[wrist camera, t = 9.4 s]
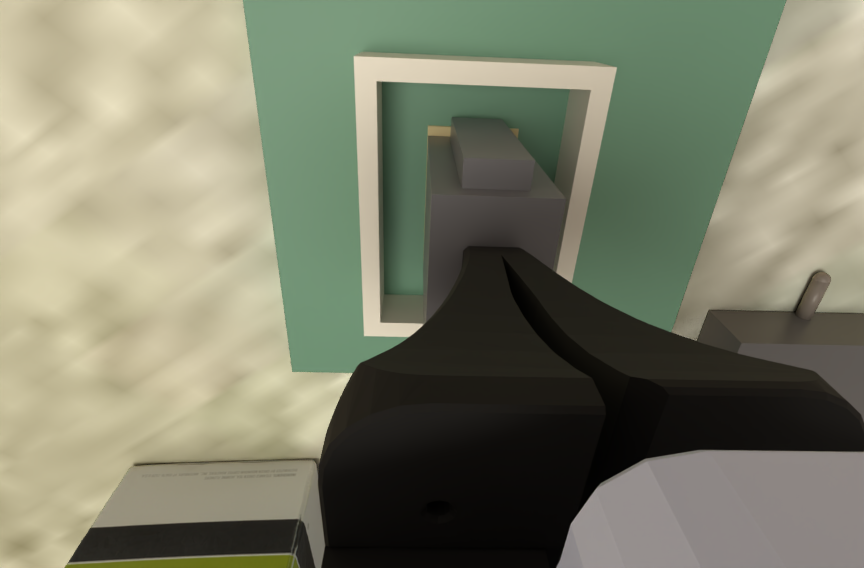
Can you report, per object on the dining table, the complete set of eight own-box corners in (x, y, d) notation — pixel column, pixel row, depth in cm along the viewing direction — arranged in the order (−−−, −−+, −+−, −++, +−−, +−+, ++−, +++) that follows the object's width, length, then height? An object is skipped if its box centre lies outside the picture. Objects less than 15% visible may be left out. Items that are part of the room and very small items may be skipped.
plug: (501, 271, 18) (533, 374, 13) (423, 269, 18) (423, 371, 13) (521, 117, 15) (572, 167, 10) (428, 113, 15) (432, 162, 10)
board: (645, 363, 22) (676, 410, 19) (297, 357, 21) (280, 404, 19) (784, -59, 14) (867, -76, 12) (242, -88, 14) (200, -113, 11)
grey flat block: (808, 443, 25) (847, 484, 23) (659, 441, 24) (682, 483, 22) (911, 272, 20) (973, 304, 18) (725, 267, 20) (764, 299, 17)
